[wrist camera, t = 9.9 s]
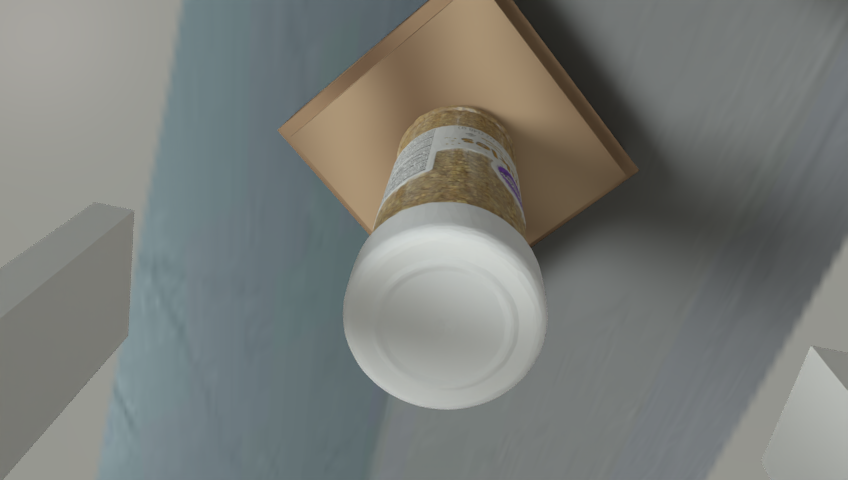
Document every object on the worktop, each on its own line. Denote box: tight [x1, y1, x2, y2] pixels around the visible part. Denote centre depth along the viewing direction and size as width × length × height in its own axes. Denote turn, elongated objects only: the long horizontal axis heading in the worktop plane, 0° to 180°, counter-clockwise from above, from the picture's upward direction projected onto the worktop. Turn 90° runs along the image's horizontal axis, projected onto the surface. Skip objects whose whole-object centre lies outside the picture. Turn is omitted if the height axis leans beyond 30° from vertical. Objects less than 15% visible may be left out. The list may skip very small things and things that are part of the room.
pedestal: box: [278, 0, 639, 248], centre depth 31 cm, size 10×10×4 cm
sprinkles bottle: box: [343, 105, 548, 409], centre depth 23 cm, size 5×5×14 cm
